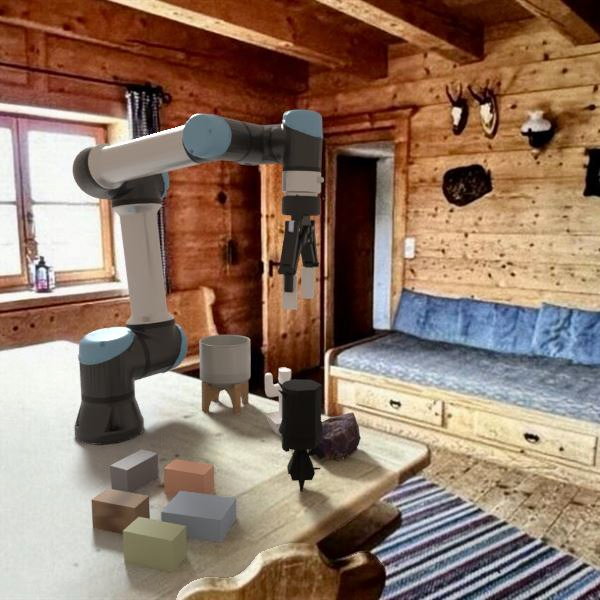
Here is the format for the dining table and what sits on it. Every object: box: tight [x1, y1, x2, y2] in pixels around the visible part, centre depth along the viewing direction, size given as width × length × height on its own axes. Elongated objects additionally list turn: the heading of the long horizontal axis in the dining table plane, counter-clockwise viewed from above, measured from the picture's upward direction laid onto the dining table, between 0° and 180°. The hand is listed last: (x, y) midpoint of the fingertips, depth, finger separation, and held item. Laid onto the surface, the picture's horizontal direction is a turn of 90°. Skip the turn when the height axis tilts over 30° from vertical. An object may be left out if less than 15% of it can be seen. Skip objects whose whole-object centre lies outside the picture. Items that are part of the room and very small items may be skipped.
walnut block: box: [90, 488, 151, 535], centre depth 91 cm, size 8×4×5 cm, turn 72°
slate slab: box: [160, 491, 237, 543], centre depth 92 cm, size 10×7×4 cm
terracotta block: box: [163, 458, 215, 497], centre depth 103 cm, size 8×4×5 cm, turn 72°
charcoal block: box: [110, 448, 159, 493], centre depth 105 cm, size 8×4×5 cm, turn 152°
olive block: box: [122, 517, 188, 574], centre depth 83 cm, size 8×4×5 cm, turn 72°
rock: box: [307, 411, 362, 461], centre depth 118 cm, size 12×9×10 cm
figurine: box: [264, 366, 292, 437], centre depth 130 cm, size 7×9×15 cm
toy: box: [276, 379, 327, 493], centre depth 103 cm, size 8×9×20 cm
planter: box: [198, 334, 252, 415], centre depth 146 cm, size 13×13×18 cm
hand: (299, 303), depth 113 cm, fingers open, 13 cm apart
